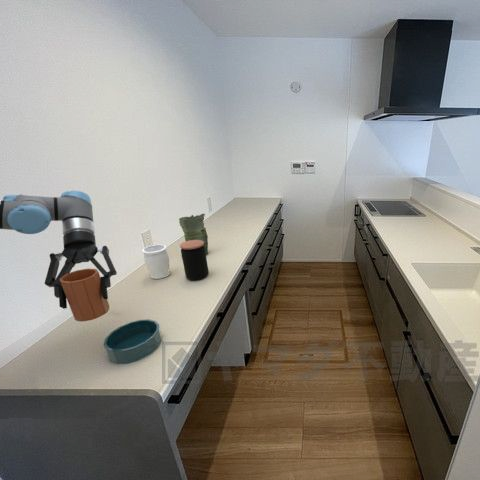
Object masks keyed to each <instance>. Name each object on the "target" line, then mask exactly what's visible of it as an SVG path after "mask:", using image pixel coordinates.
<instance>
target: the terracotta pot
mask: <svg viewBox="0 0 480 480" xmlns="http://www.w3.org/2000/svg"><path fill="white" fill-rule="evenodd" d="M100 277H101V275H100V271H99V270H98V269H97V268H83V269H77V270H74V271H70V273H68V274H66V275H64V276H63V277H61V278H60V279H59V280H60V282H61V285H62V287H63V290H64V293H65V295H66V300H67V304H68V306H69V308H70V311H71V314H72V316H73V318H74V321H76V322H88V321H94V320H96V319H98V318H100V317H103V316H105V315H106V314H107V313H108V312H109V310H110V303H109V301H108V299H104V298H103V297H102V288H101V279H100Z"/></svg>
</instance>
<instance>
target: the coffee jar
mask: <svg viewBox="0 0 480 480" xmlns="http://www.w3.org/2000/svg"><path fill="white" fill-rule="evenodd" d="M179 247H180V254H181V259H182V264H183V269H184V275H185V278H186V279H187V280H188V281H192V282H197V281H201V280H205V278H207V277H208V275H209V265H208V260H207V259H208V258H207V254H206V252H205V247H204V242H203V241H202V240H190V241H183V242H181V243H180V244H179Z"/></svg>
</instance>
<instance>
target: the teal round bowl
mask: <svg viewBox="0 0 480 480" xmlns="http://www.w3.org/2000/svg"><path fill="white" fill-rule="evenodd" d="M162 339H163V335H162V330H161V328H160V324H159V323H158V321H156V320H153V319H150V318H148V319H147V318H146V319H137V320H134V321H129V322H128V323H125V324H123V325H120V326H119V327H117V328H115V329H114V330H112V331H111V332H109V334H108V335H107V336H106V337H105V338H104V341H103V345H102V346H103V348H104V351H105V353H106V356H107V358H108V361H109V362H111V363H113V364H116V365H124V364H131V363H134V362H137V361H140V360H142V359H144V358H146V357H148V356H150V355H151V354H153V352H155V351H156V350H157V349H158V348H159V347H160V345H161V344H162V342H163V340H162Z"/></svg>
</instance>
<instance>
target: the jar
mask: <svg viewBox="0 0 480 480" xmlns="http://www.w3.org/2000/svg"><path fill="white" fill-rule="evenodd" d="M167 249H168V248H167V246H166V245H165V244H153V245H148V246H146V247H144V248H143V249H142V250H141V252H142V254H143V259H144V264H145V266H146V268H147V271H148V272H149V274H150V278H151V279H154V280H160V279H165V278H166V277H168V276H169V275H170V274H171V273H170V271H169V270H170V257H169V253H168V251H167Z"/></svg>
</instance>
